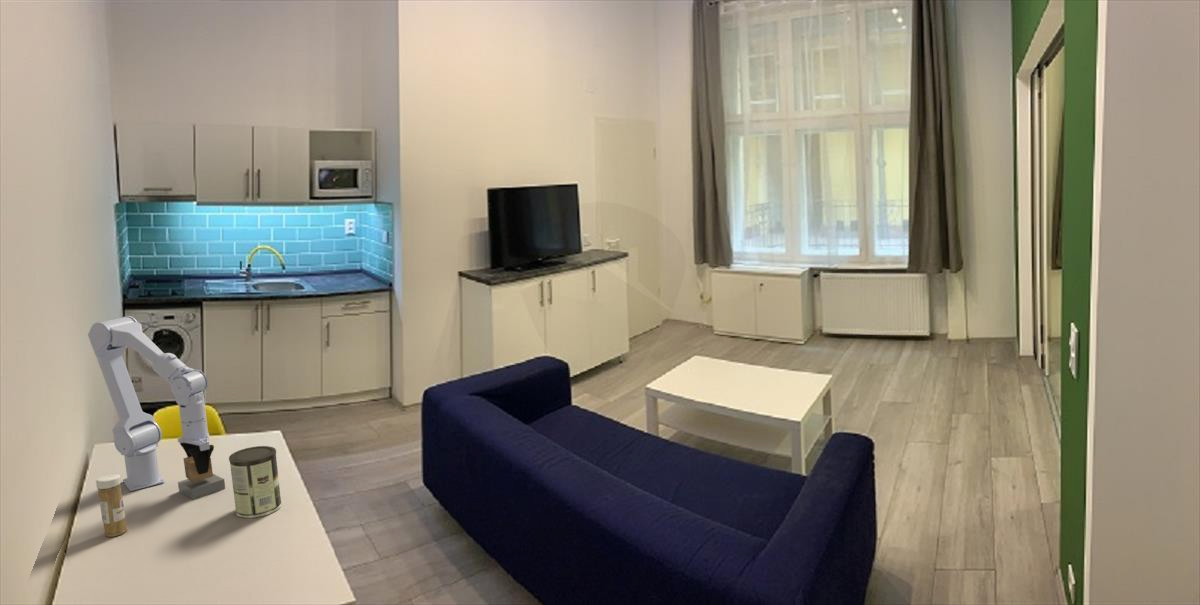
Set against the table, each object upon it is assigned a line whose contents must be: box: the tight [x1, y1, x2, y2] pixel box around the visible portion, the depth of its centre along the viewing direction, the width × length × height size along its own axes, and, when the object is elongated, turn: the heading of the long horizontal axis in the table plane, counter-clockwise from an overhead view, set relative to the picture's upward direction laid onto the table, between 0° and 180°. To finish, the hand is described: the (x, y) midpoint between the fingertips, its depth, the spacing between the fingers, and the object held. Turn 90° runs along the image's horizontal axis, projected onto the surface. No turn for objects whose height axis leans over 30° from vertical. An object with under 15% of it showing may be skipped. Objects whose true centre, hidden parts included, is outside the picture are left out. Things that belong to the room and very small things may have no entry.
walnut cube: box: [183, 456, 214, 482], centre depth 194 cm, size 5×5×5 cm
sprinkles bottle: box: [95, 473, 128, 538], centre depth 172 cm, size 5×5×14 cm
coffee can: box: [228, 445, 282, 519], centre depth 182 cm, size 10×10×14 cm
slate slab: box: [177, 473, 226, 500], centre depth 195 cm, size 8×8×3 cm
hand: (199, 470), depth 195 cm, fingers closed on walnut cube, 5 cm apart
